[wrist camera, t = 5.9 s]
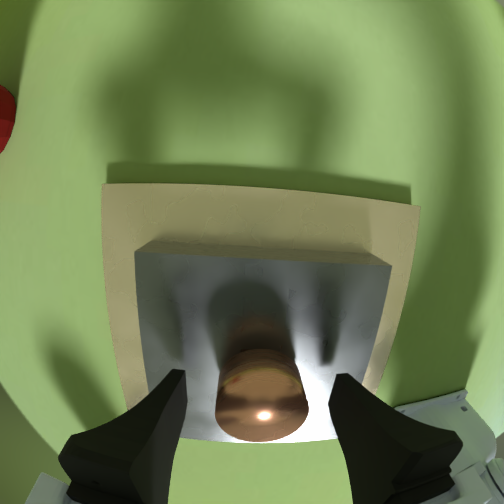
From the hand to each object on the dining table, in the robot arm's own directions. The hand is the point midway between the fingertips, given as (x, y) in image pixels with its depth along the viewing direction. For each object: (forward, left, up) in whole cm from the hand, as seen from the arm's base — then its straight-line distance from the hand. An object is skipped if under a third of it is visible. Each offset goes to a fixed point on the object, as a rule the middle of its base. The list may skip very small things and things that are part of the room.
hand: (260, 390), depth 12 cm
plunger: (0, 0, -5) cm, 5 cm away
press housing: (0, 0, -5) cm, 5 cm away
